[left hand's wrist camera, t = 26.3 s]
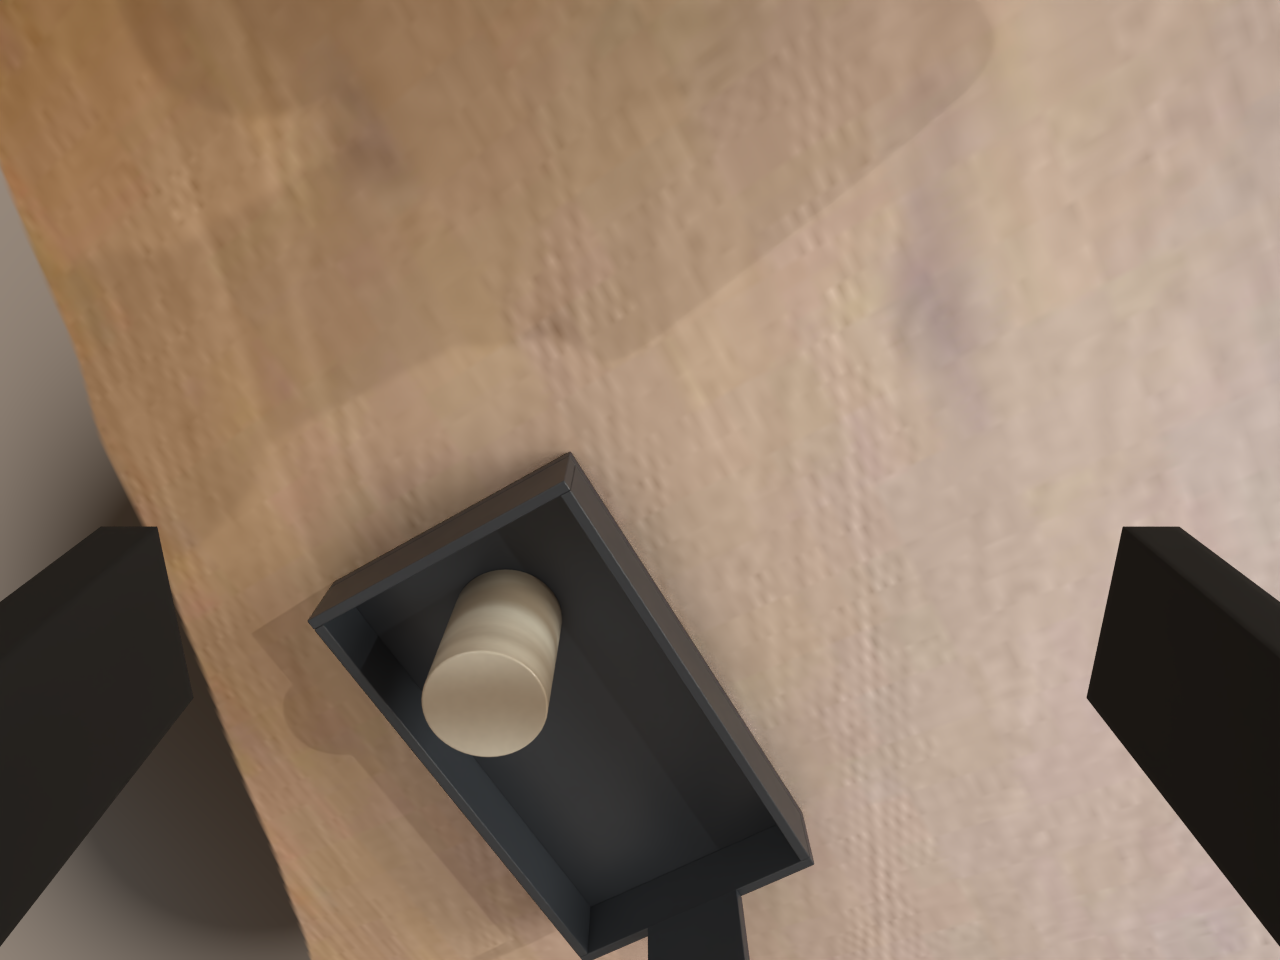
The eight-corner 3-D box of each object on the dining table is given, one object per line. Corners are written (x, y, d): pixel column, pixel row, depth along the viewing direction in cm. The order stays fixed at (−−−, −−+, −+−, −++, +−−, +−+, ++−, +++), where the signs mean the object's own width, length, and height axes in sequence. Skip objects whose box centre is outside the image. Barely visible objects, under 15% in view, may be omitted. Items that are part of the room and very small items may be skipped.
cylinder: (450, 569, 42) (414, 652, 35) (559, 567, 42) (544, 650, 35) (459, 663, 43) (427, 758, 37) (564, 662, 43) (550, 757, 37)
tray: (333, 582, 42) (257, 694, 34) (570, 450, 40) (551, 536, 32) (588, 907, 50) (578, 1067, 41) (802, 812, 47) (837, 961, 39)
